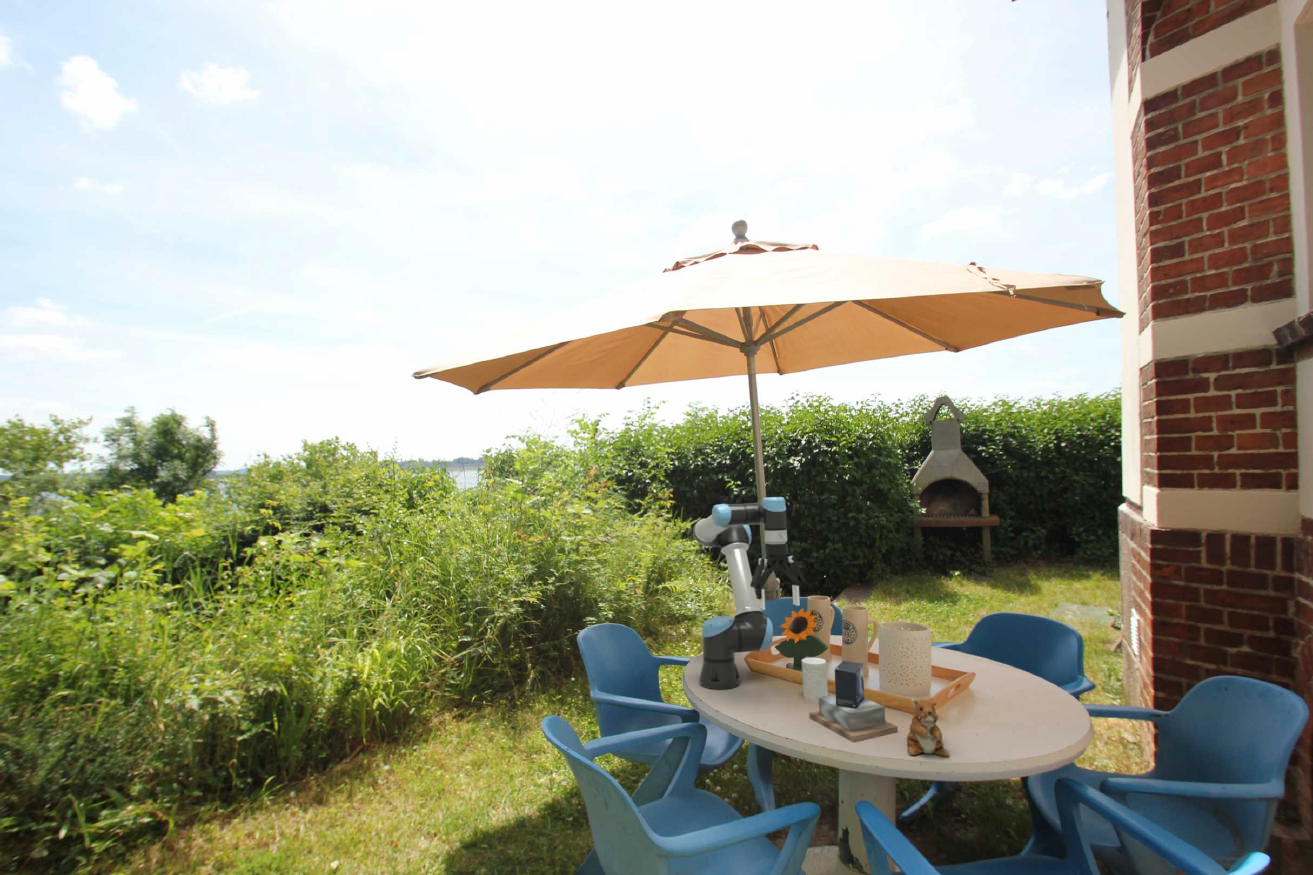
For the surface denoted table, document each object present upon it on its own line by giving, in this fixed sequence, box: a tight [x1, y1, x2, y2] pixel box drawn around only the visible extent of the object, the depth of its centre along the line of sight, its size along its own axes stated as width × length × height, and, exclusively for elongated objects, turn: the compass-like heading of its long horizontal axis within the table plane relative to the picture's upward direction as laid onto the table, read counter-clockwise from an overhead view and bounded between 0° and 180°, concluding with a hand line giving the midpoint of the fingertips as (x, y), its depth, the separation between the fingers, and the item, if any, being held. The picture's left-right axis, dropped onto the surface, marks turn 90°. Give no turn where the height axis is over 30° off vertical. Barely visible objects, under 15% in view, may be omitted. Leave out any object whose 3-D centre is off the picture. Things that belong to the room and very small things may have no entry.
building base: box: [808, 693, 899, 743], centre depth 173 cm, size 20×16×6 cm
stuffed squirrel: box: [906, 698, 950, 757], centre depth 157 cm, size 10×14×13 cm
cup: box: [801, 657, 829, 702], centre depth 197 cm, size 8×8×12 cm
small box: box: [833, 660, 866, 708], centre depth 174 cm, size 11×6×10 cm, turn 148°
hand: (779, 607), depth 193 cm, fingers open, 13 cm apart
